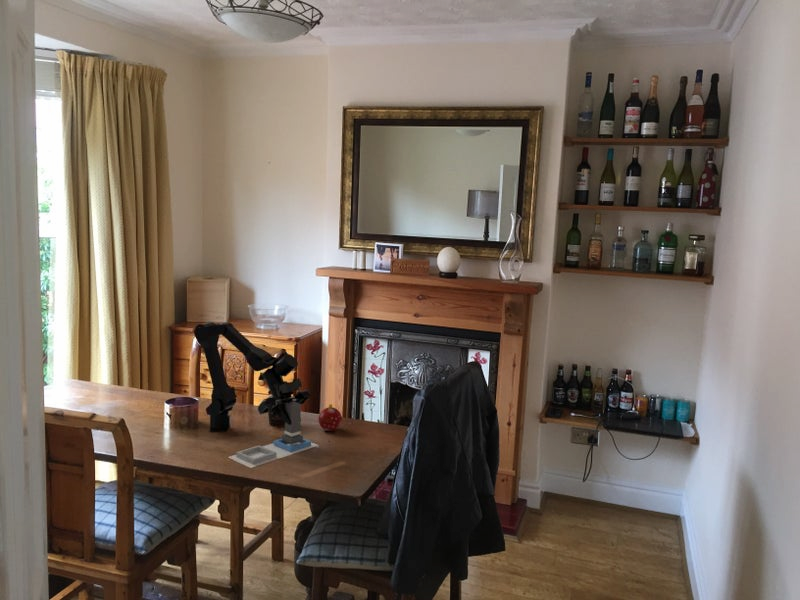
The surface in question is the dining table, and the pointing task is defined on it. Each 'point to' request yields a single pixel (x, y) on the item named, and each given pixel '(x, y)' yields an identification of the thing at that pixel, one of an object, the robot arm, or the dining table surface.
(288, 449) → the board
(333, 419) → the christmas ornament
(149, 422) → the dining table surface
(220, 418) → the robot arm
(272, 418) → the coffee mug
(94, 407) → the dining table surface
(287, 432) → the plug
